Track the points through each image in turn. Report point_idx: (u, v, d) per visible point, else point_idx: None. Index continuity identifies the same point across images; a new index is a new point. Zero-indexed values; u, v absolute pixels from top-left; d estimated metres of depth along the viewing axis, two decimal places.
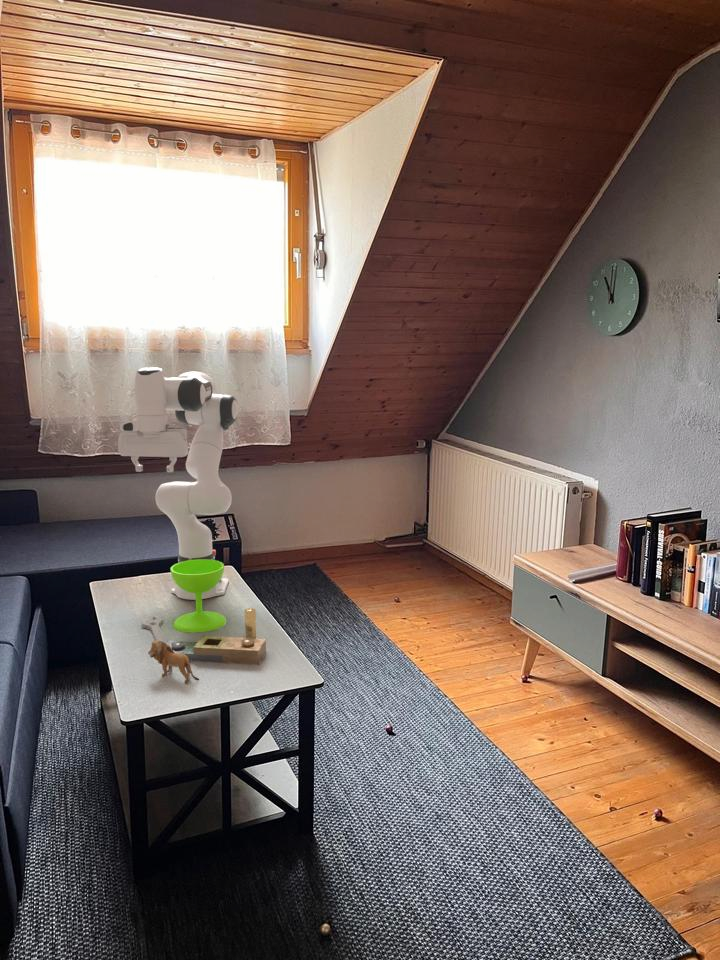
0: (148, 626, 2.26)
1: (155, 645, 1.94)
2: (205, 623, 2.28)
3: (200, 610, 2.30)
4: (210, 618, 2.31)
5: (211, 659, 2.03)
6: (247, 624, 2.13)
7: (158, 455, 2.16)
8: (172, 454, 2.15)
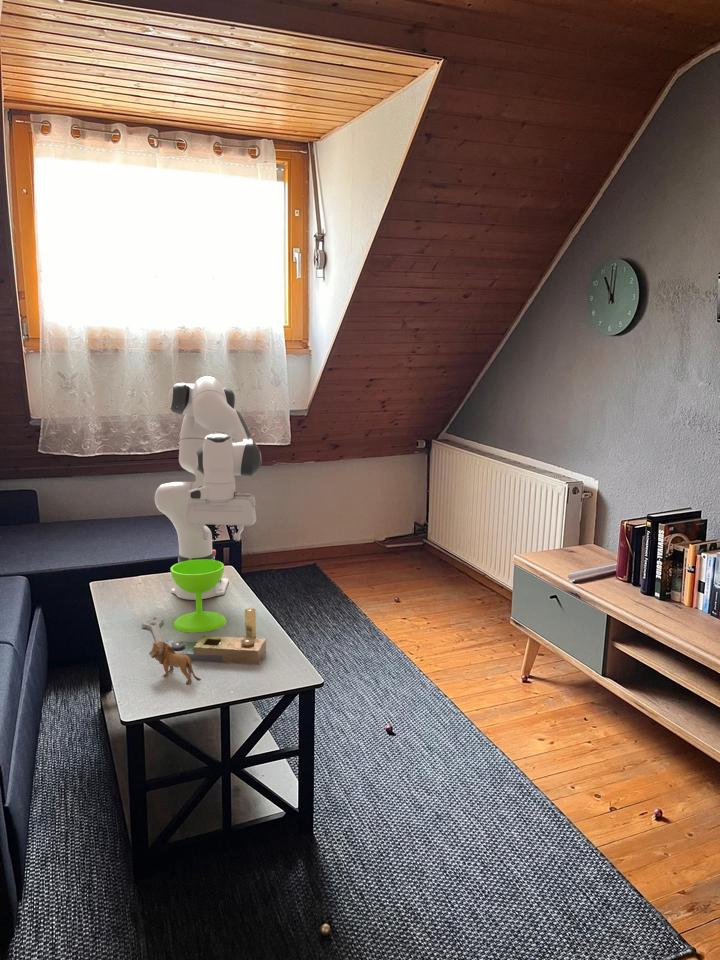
0: (148, 626, 2.26)
1: (156, 645, 1.93)
2: (205, 623, 2.28)
3: (200, 610, 2.30)
4: (210, 618, 2.31)
5: (211, 659, 2.03)
6: (247, 624, 2.13)
7: (226, 524, 2.11)
8: (240, 522, 2.10)
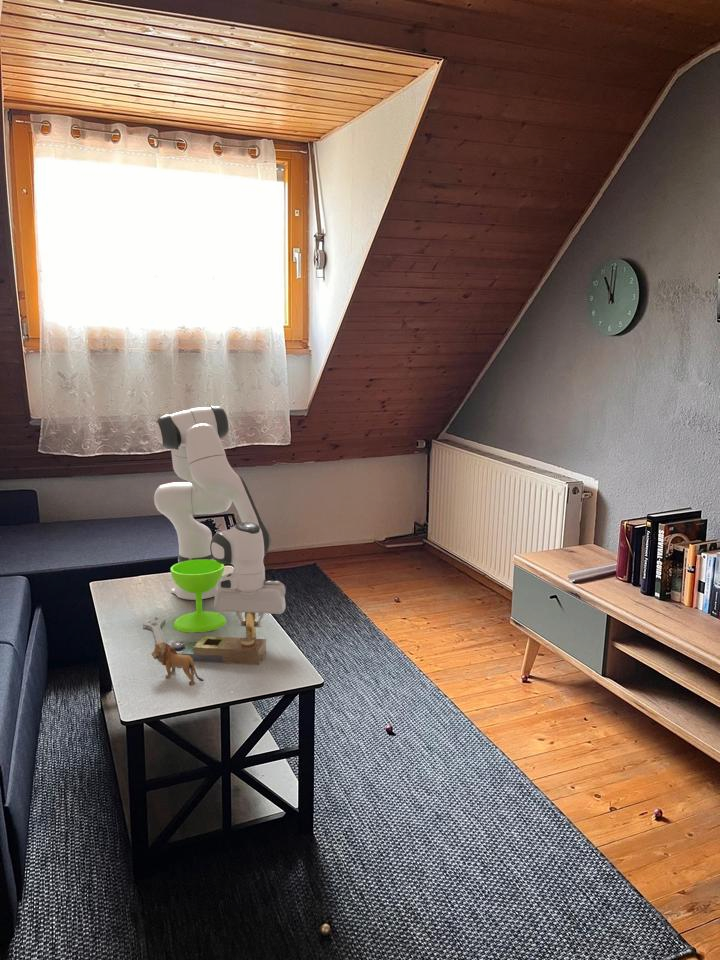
0: (149, 626, 2.26)
1: (158, 646, 1.93)
2: (205, 623, 2.28)
3: (200, 610, 2.30)
4: (210, 618, 2.31)
5: (211, 659, 2.03)
6: (247, 624, 2.13)
7: (256, 612, 2.12)
8: (270, 611, 2.11)
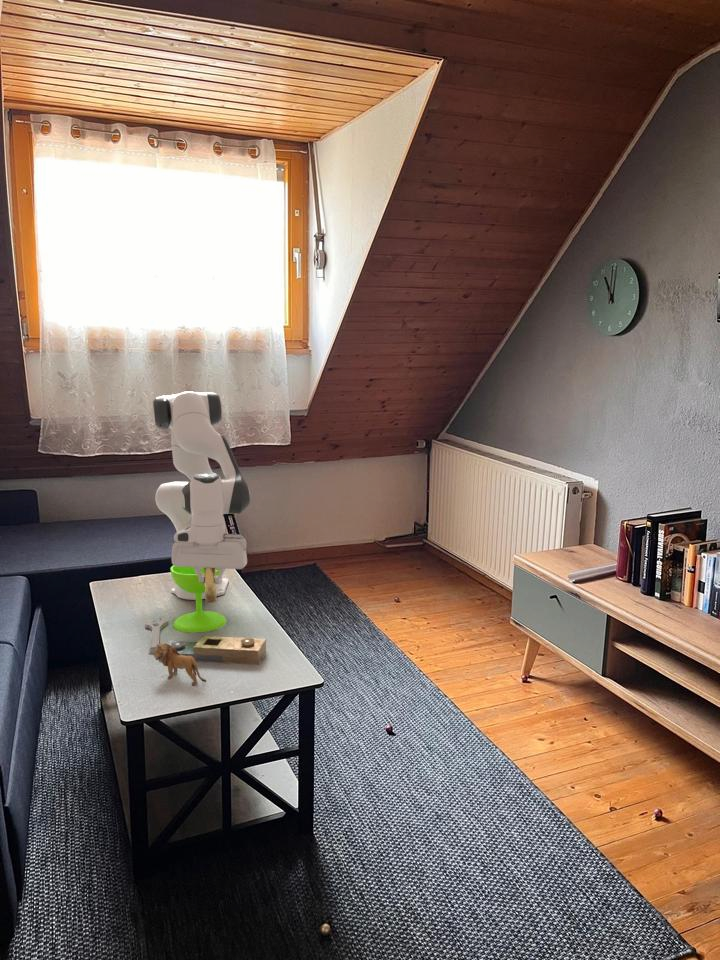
0: (150, 627, 2.26)
1: (160, 647, 1.92)
2: (205, 623, 2.28)
3: (200, 610, 2.30)
4: (210, 618, 2.31)
5: (211, 659, 2.03)
6: (206, 580, 2.02)
7: (215, 567, 2.00)
8: (230, 566, 2.00)
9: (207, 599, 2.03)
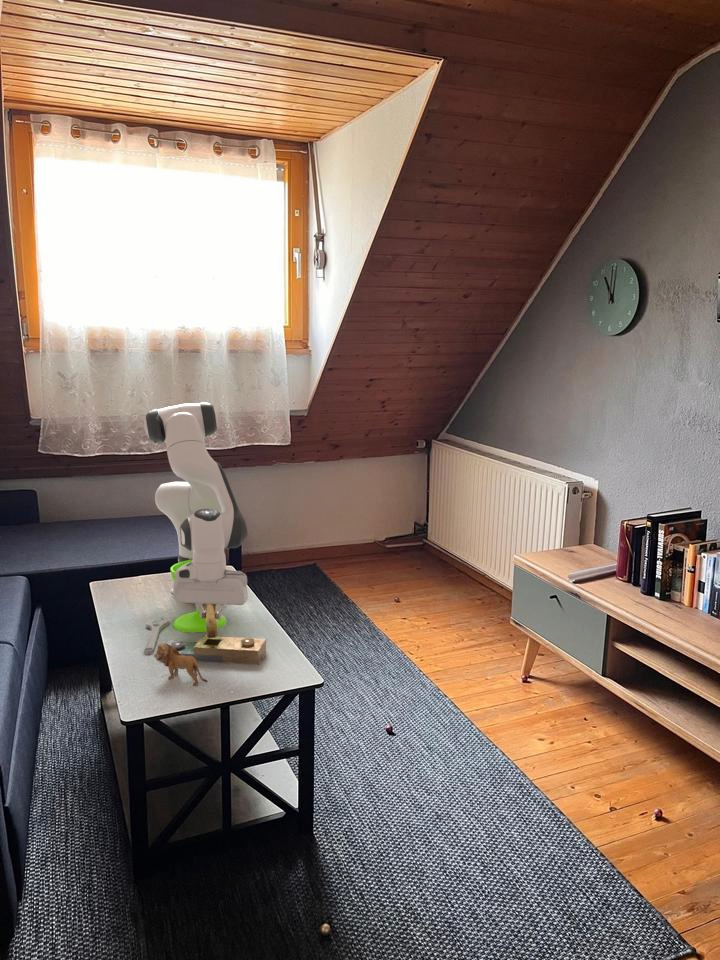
0: (151, 627, 2.26)
1: (161, 648, 1.92)
2: (205, 623, 2.28)
3: None
4: None
5: (211, 659, 2.03)
6: (207, 616, 2.04)
7: (216, 603, 2.02)
8: (231, 602, 2.01)
9: (208, 634, 2.04)
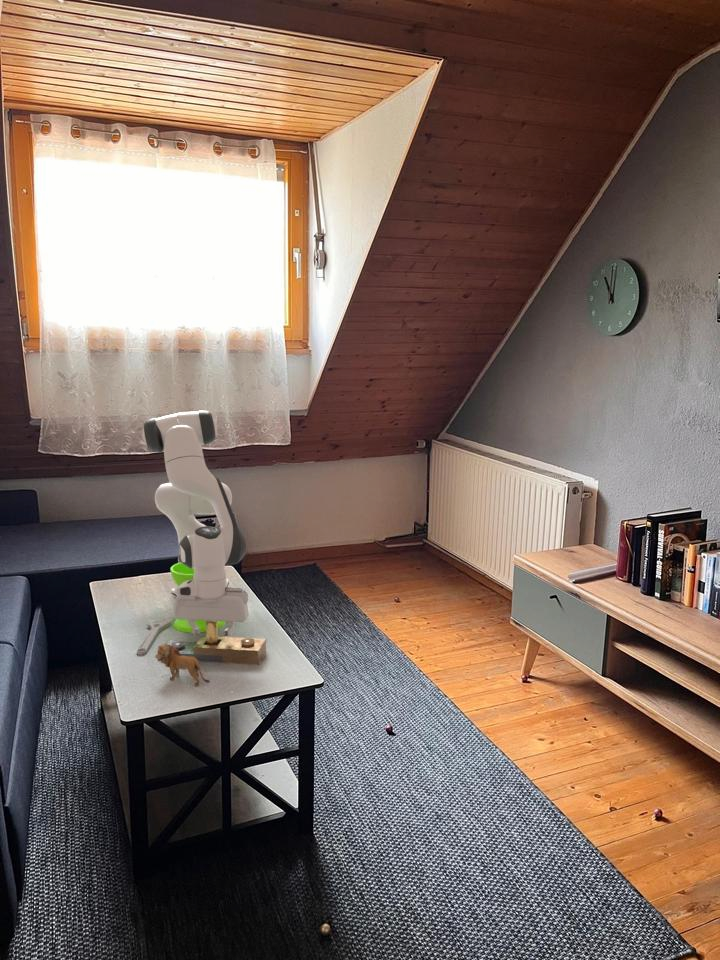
0: (151, 627, 2.25)
1: (162, 648, 1.92)
2: (205, 623, 2.28)
3: None
4: None
5: (211, 659, 2.03)
6: (208, 636, 2.05)
7: (217, 620, 2.03)
8: (232, 619, 2.02)
9: None
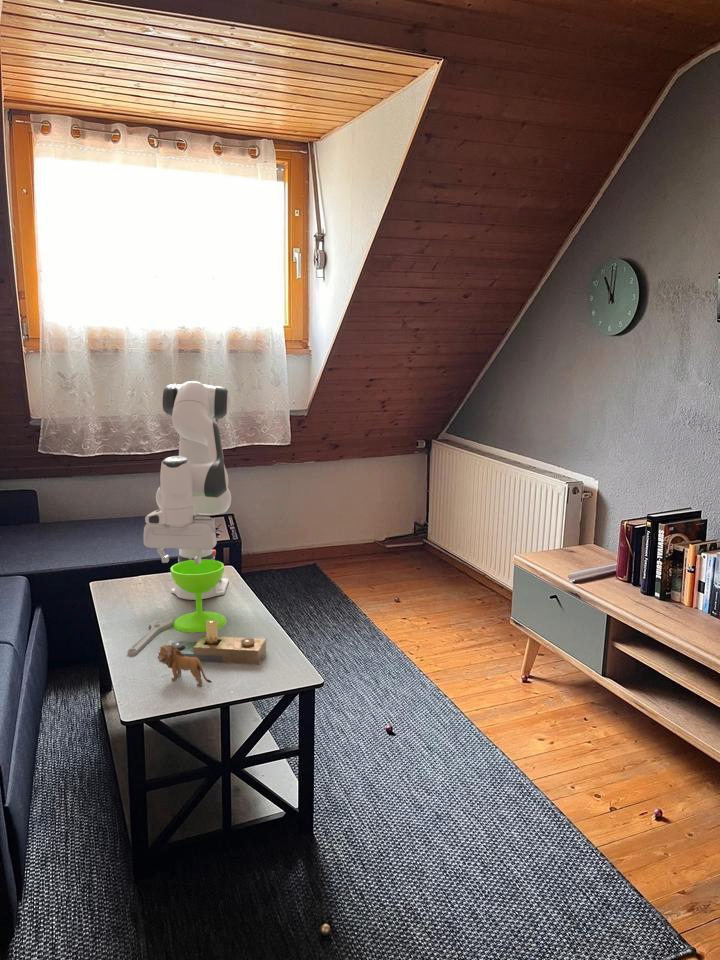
0: (151, 627, 2.25)
1: (164, 649, 1.91)
2: (205, 623, 2.28)
3: (200, 610, 2.30)
4: (210, 618, 2.31)
5: (211, 659, 2.03)
6: (208, 636, 2.05)
7: (186, 548, 2.08)
8: (200, 546, 2.07)
9: None
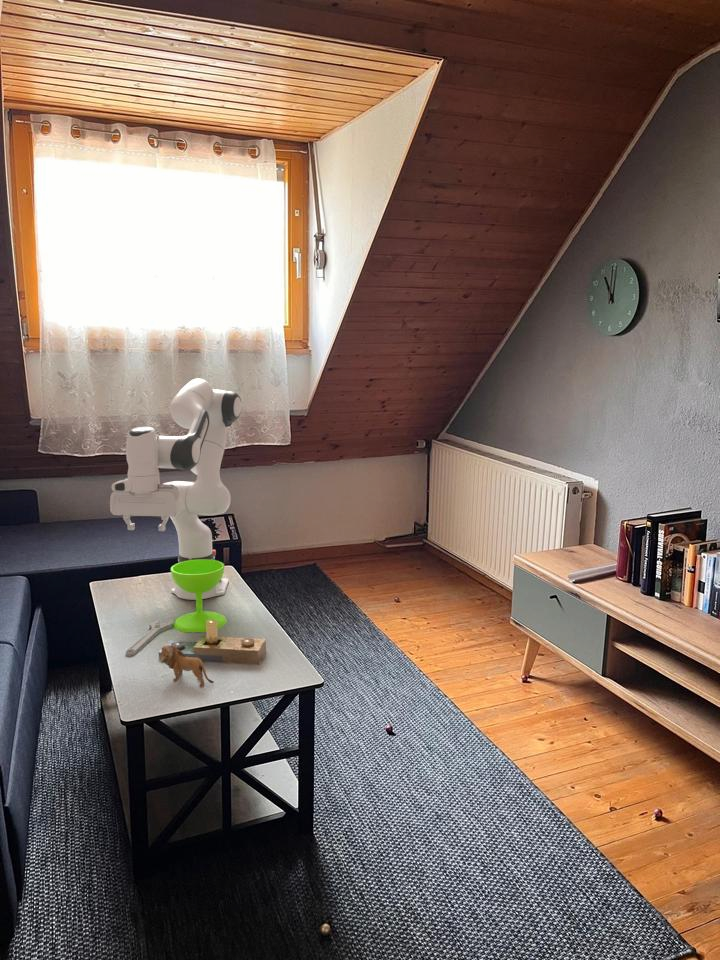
0: (151, 628, 2.25)
1: (166, 650, 1.91)
2: (205, 623, 2.28)
3: (200, 610, 2.30)
4: (210, 618, 2.31)
5: (211, 659, 2.03)
6: (208, 636, 2.05)
7: (150, 515, 2.16)
8: (164, 514, 2.15)
9: None
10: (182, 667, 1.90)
